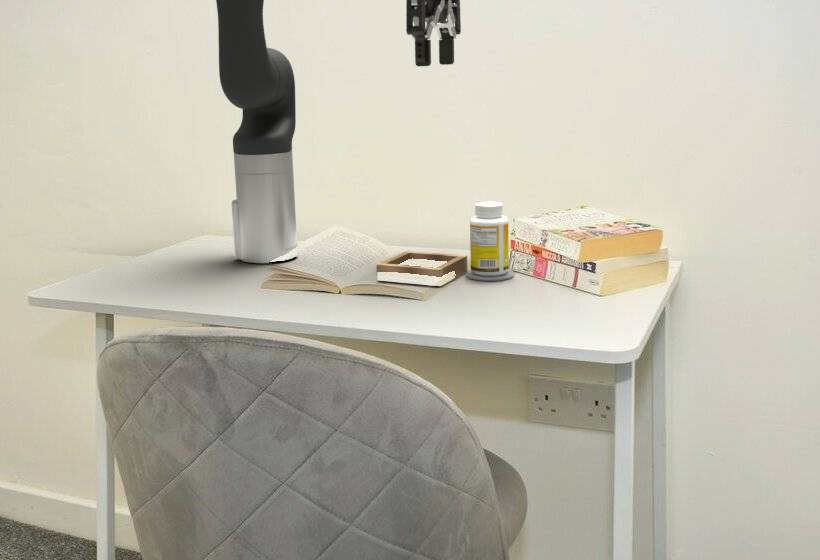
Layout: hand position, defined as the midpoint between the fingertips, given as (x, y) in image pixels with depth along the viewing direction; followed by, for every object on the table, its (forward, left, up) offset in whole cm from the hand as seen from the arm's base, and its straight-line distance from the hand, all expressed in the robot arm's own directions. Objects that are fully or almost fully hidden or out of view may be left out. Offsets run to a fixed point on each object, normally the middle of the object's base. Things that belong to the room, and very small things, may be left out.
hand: (435, 65), depth 143 cm
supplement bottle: (+11, -6, -30) cm, 32 cm away
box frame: (+2, -10, -30) cm, 32 cm away
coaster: (+11, -6, -30) cm, 33 cm away
